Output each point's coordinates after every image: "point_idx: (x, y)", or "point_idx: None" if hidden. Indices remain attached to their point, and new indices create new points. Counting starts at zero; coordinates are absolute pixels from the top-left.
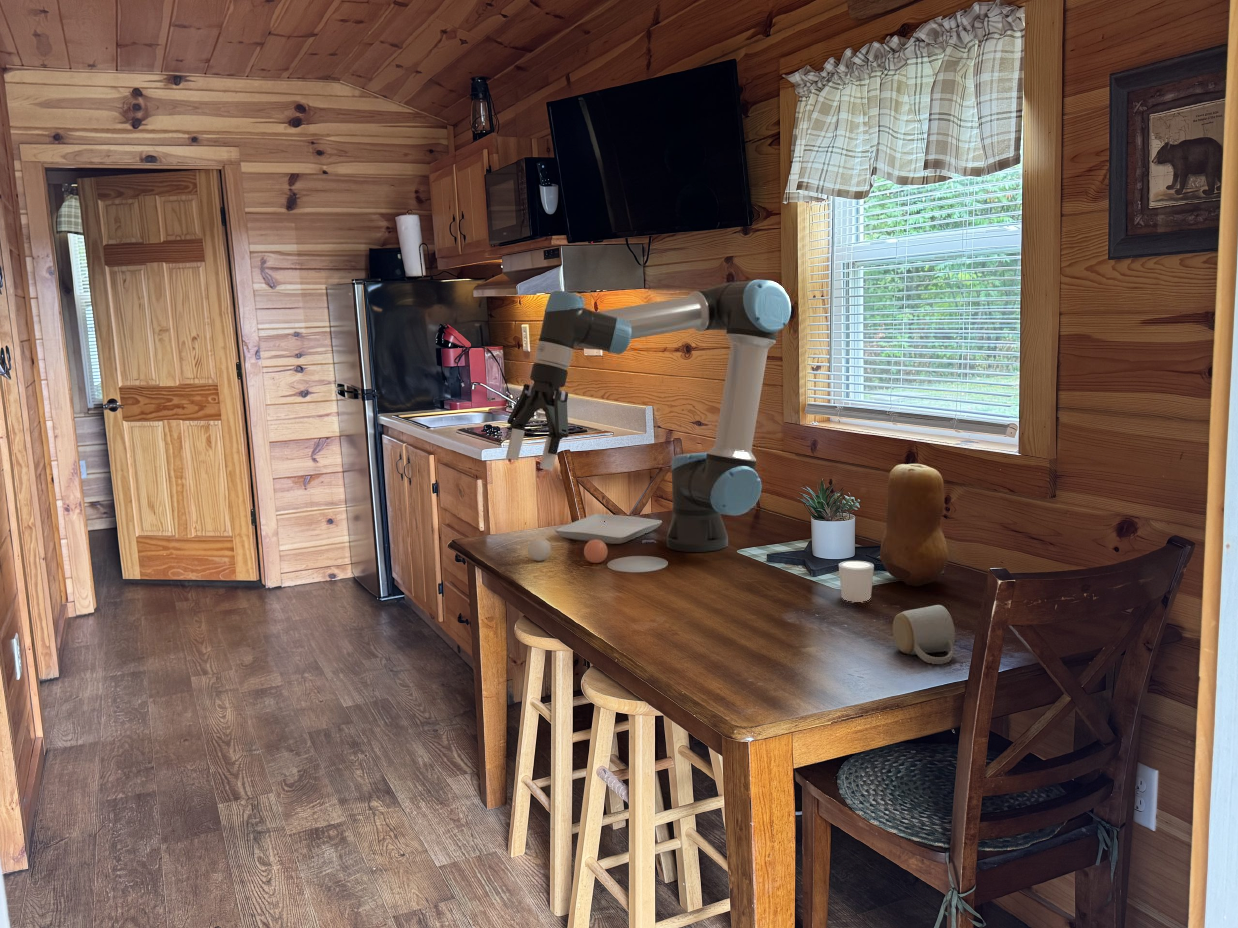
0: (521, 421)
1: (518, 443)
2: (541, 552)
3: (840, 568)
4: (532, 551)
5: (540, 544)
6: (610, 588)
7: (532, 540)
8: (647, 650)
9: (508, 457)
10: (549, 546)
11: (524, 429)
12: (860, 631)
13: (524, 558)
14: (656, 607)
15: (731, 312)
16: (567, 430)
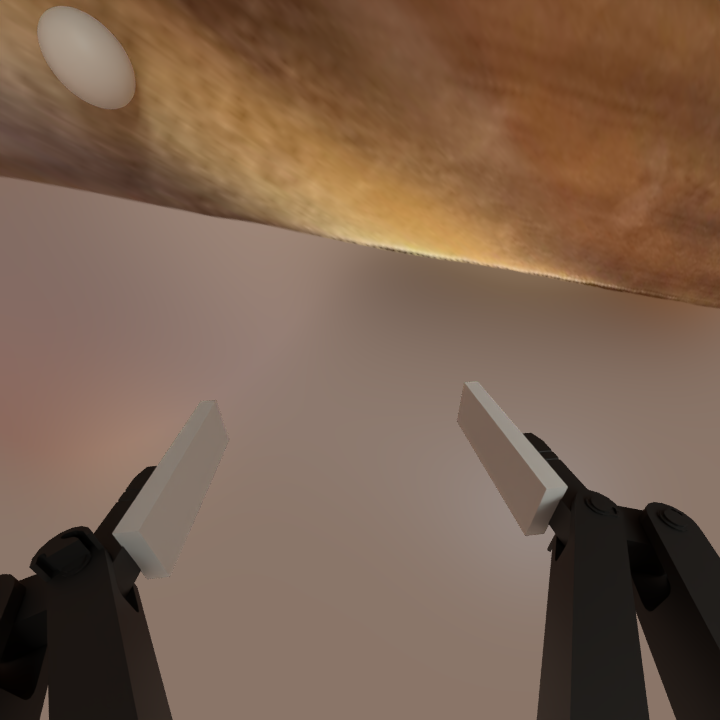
0: (140, 634)
1: (189, 470)
2: (132, 81)
3: None
4: (122, 106)
5: (112, 78)
6: (460, 93)
7: (76, 88)
8: (671, 267)
9: (227, 440)
10: (100, 32)
11: (91, 537)
12: None
13: None
14: (628, 111)
15: None
16: (712, 556)
